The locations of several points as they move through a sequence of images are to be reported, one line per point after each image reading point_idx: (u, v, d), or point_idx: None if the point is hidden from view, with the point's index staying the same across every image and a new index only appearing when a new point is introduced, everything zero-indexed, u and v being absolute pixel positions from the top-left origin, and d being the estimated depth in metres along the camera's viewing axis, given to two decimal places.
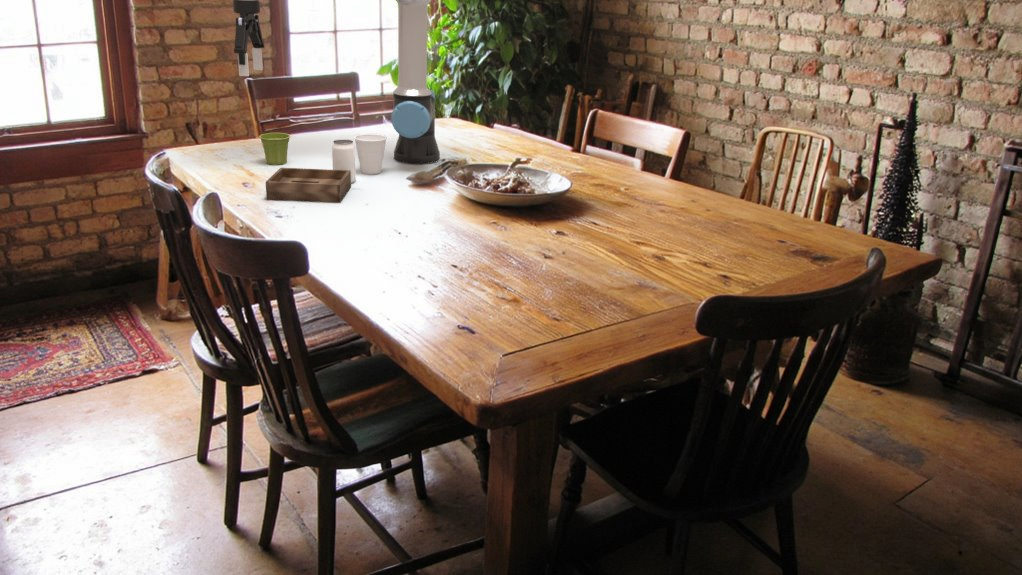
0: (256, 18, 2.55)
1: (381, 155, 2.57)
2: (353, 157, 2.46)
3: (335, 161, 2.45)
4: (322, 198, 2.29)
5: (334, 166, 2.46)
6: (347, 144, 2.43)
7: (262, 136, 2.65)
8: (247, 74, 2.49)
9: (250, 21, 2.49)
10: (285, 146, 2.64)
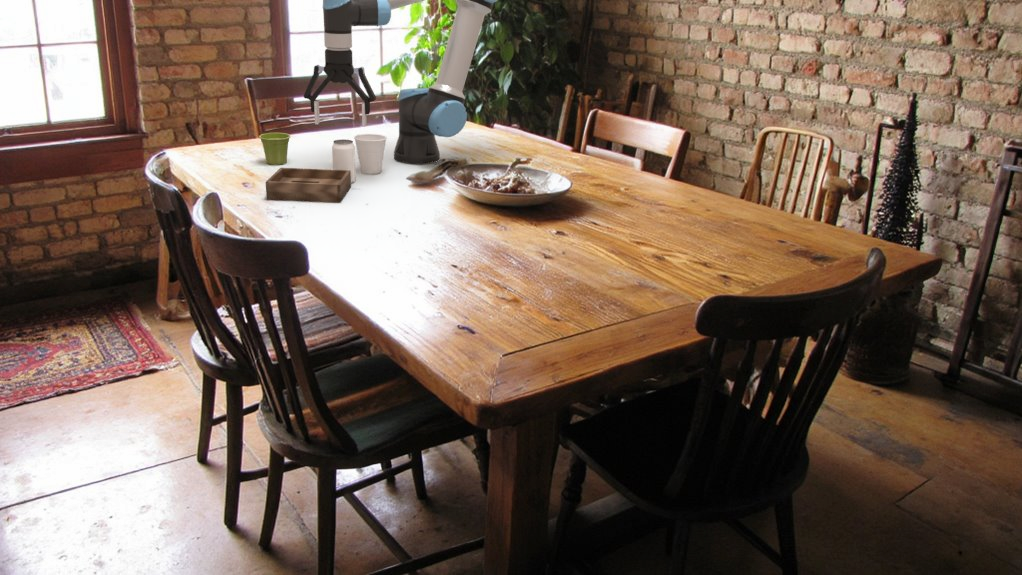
0: None
1: (381, 155, 2.57)
2: (353, 157, 2.46)
3: (335, 161, 2.45)
4: (322, 198, 2.29)
5: (334, 166, 2.46)
6: (347, 144, 2.43)
7: (262, 136, 2.65)
8: None
9: (331, 71, 2.37)
10: (285, 146, 2.64)
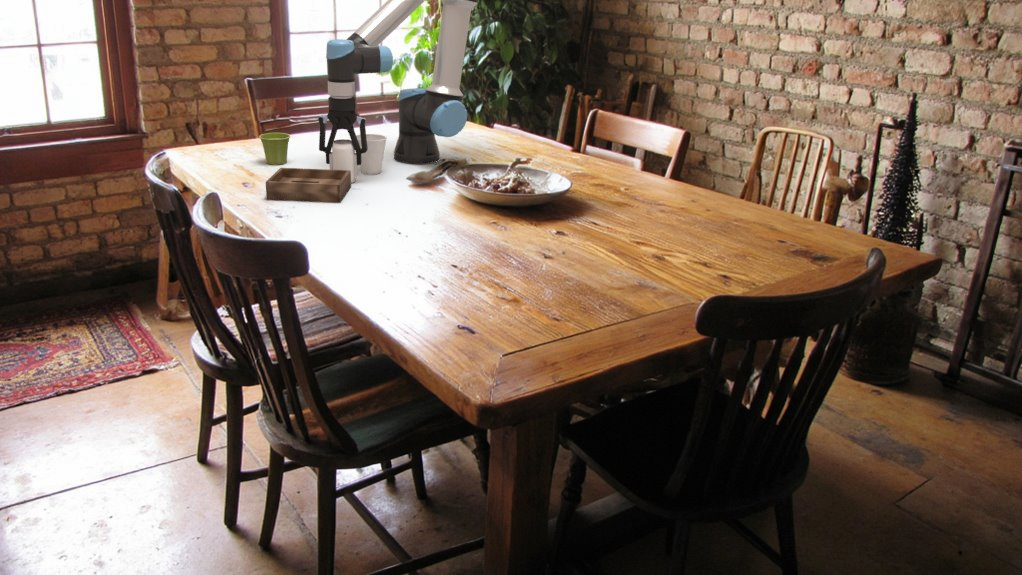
0: (361, 121, 2.42)
1: (381, 155, 2.57)
2: (353, 157, 2.46)
3: (335, 161, 2.45)
4: (322, 198, 2.29)
5: (334, 166, 2.46)
6: (347, 144, 2.43)
7: (262, 136, 2.65)
8: None
9: (334, 119, 2.41)
10: (285, 146, 2.64)
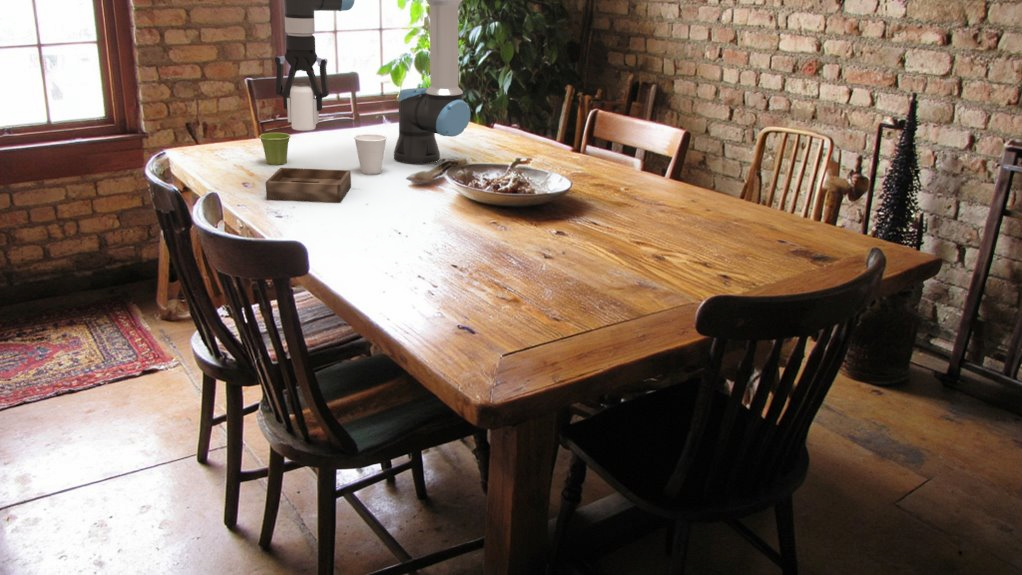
0: (321, 62, 2.24)
1: (381, 155, 2.57)
2: None
3: (293, 106, 2.27)
4: (322, 198, 2.29)
5: (292, 111, 2.27)
6: (306, 87, 2.25)
7: (262, 136, 2.65)
8: None
9: (292, 59, 2.23)
10: (285, 146, 2.64)
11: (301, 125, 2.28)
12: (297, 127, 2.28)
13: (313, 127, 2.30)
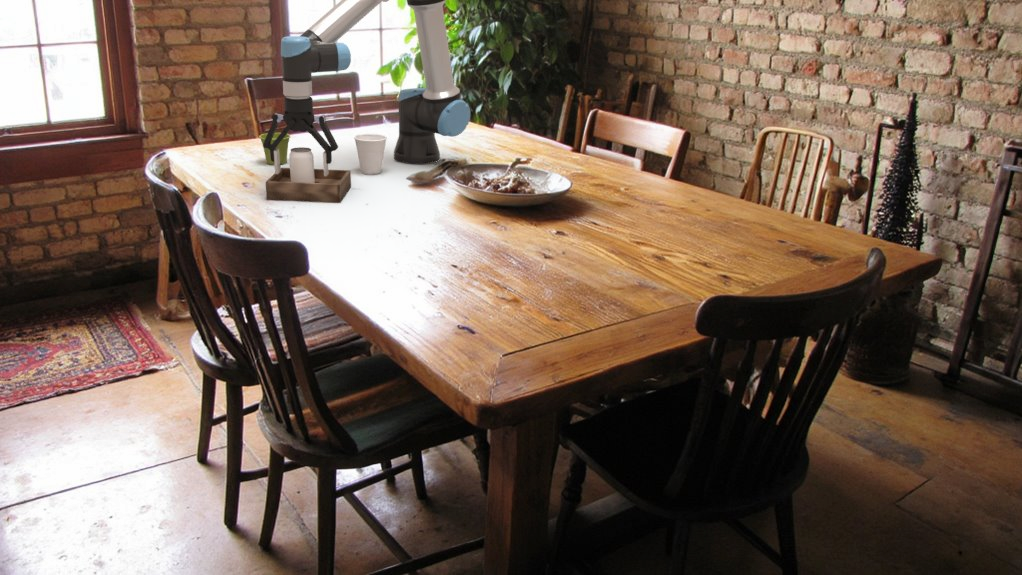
0: None
1: (381, 155, 2.57)
2: (312, 166, 2.33)
3: (292, 170, 2.32)
4: (322, 198, 2.29)
5: (291, 175, 2.33)
6: (305, 152, 2.30)
7: (262, 136, 2.65)
8: None
9: (291, 120, 2.27)
10: (285, 146, 2.64)
11: None
12: None
13: None
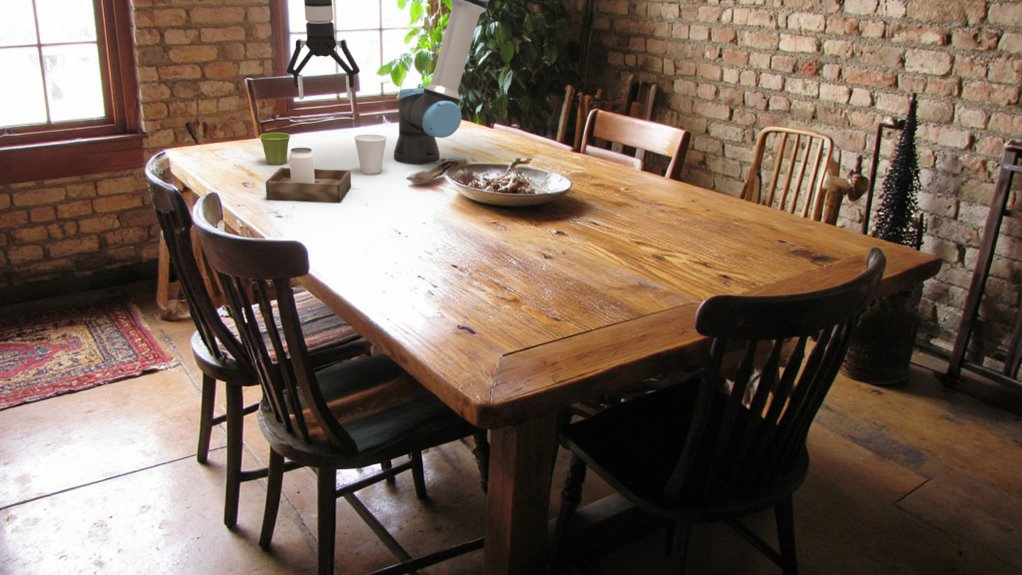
0: (341, 43, 2.36)
1: (381, 155, 2.57)
2: (312, 166, 2.33)
3: (292, 171, 2.32)
4: (322, 198, 2.29)
5: (292, 176, 2.33)
6: (305, 152, 2.30)
7: (262, 136, 2.65)
8: None
9: (314, 45, 2.35)
10: (285, 146, 2.63)
11: None
12: None
13: None
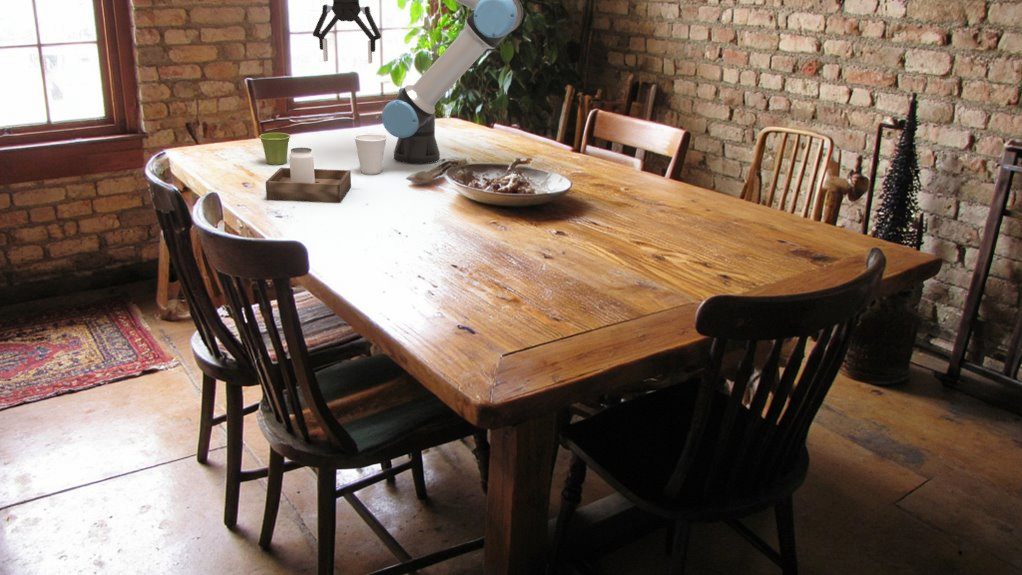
0: (365, 10, 2.52)
1: (381, 155, 2.57)
2: (312, 166, 2.33)
3: (292, 171, 2.32)
4: (322, 198, 2.29)
5: (292, 176, 2.33)
6: (305, 152, 2.30)
7: (262, 136, 2.65)
8: (324, 59, 2.57)
9: (339, 10, 2.51)
10: (285, 146, 2.64)
11: None
12: None
13: None
